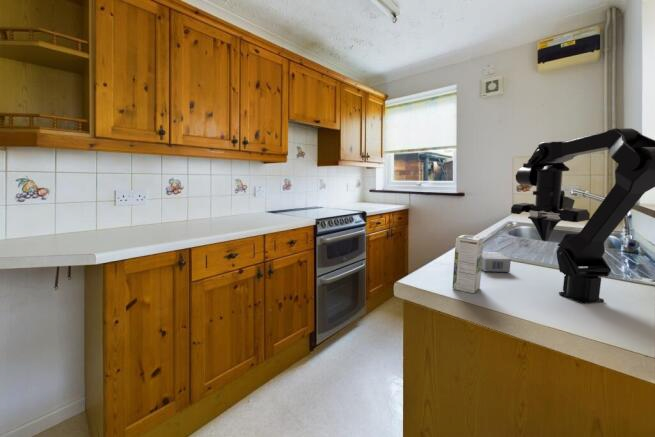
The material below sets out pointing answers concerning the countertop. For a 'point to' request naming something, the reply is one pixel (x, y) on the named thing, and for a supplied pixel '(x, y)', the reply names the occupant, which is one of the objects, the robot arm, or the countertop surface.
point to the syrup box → (467, 263)
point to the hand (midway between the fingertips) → (544, 240)
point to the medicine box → (495, 262)
